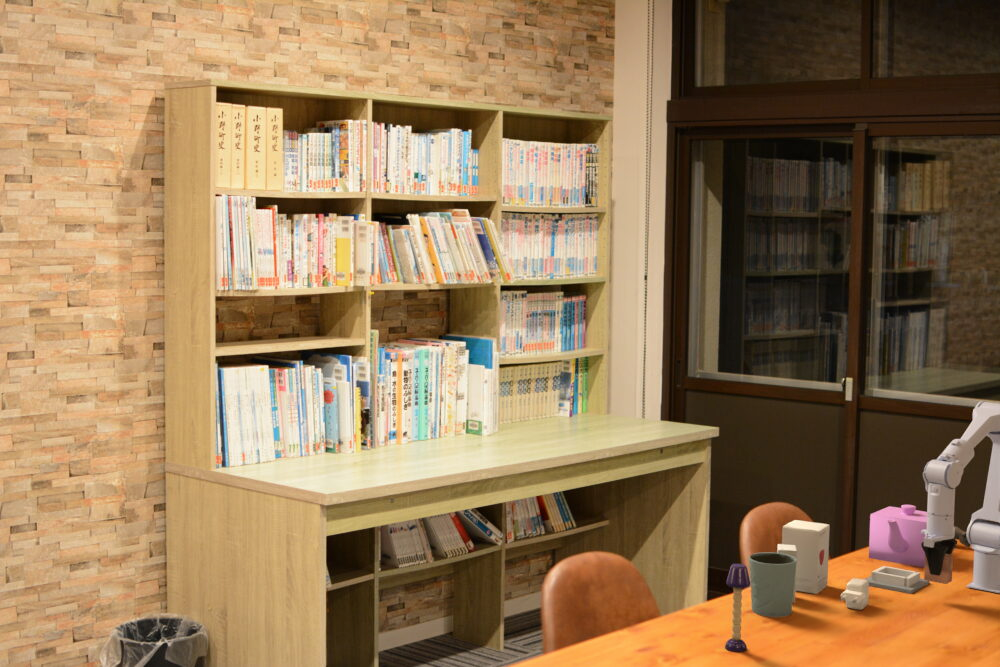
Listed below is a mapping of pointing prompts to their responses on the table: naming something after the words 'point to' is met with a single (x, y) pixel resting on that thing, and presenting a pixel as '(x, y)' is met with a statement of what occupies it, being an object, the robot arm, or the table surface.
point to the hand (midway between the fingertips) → (938, 572)
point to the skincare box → (790, 551)
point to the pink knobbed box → (898, 535)
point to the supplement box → (809, 553)
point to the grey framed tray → (896, 579)
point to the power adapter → (856, 594)
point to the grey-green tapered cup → (772, 583)
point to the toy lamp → (737, 604)
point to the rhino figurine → (961, 536)
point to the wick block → (945, 573)
